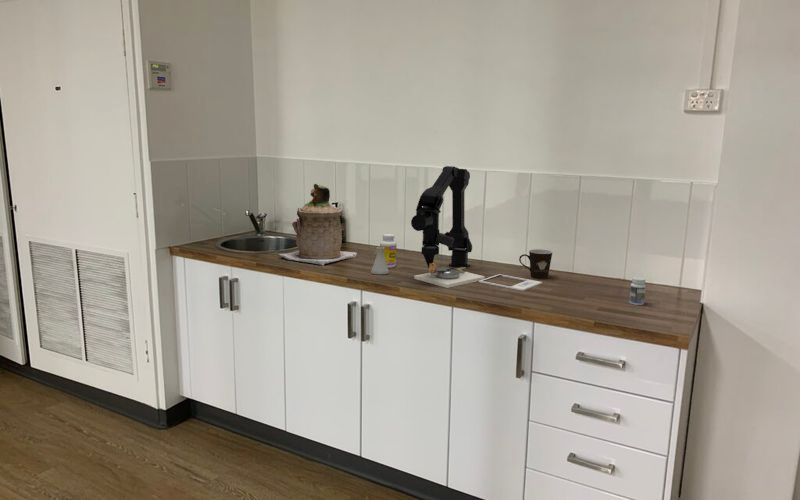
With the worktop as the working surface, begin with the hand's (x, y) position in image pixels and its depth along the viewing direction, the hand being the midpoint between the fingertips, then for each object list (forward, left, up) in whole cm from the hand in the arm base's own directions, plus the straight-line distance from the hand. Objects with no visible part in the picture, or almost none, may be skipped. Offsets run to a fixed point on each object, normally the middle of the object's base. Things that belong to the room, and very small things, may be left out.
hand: (430, 268), depth 227 cm
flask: (+8, -20, -5) cm, 22 cm away
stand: (-6, +4, -4) cm, 9 cm away
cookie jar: (+10, -57, -5) cm, 58 cm away
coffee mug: (-35, +21, -5) cm, 42 cm away
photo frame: (-20, +21, -5) cm, 30 cm away
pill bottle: (-31, +64, -5) cm, 72 cm away
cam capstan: (-5, +4, -3) cm, 7 cm away
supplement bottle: (-2, -27, -5) cm, 27 cm away
